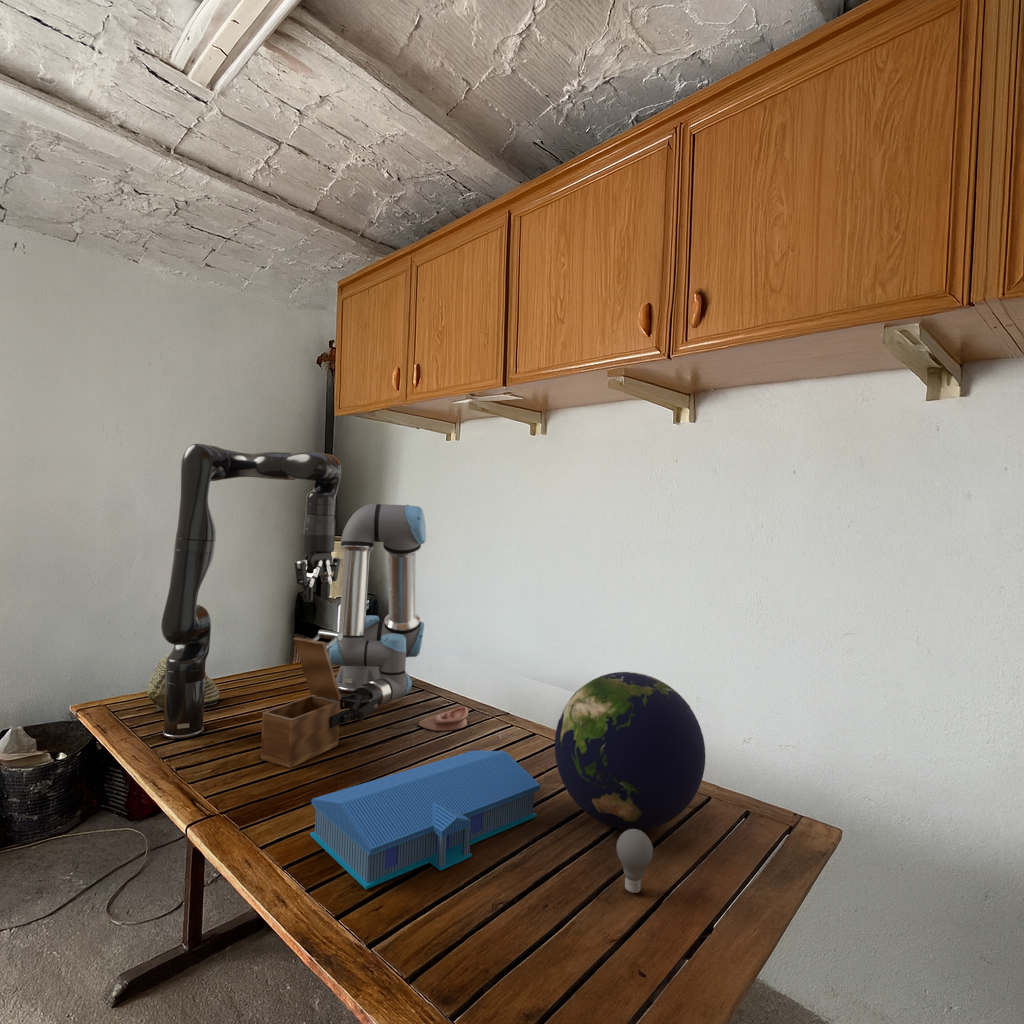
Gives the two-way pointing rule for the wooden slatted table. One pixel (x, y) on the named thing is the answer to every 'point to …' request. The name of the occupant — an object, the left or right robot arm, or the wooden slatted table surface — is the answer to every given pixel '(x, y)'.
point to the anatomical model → (446, 720)
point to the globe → (630, 751)
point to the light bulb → (634, 857)
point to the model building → (423, 815)
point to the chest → (299, 730)
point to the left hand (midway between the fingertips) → (316, 600)
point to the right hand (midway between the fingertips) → (315, 718)
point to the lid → (319, 664)
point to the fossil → (158, 687)
